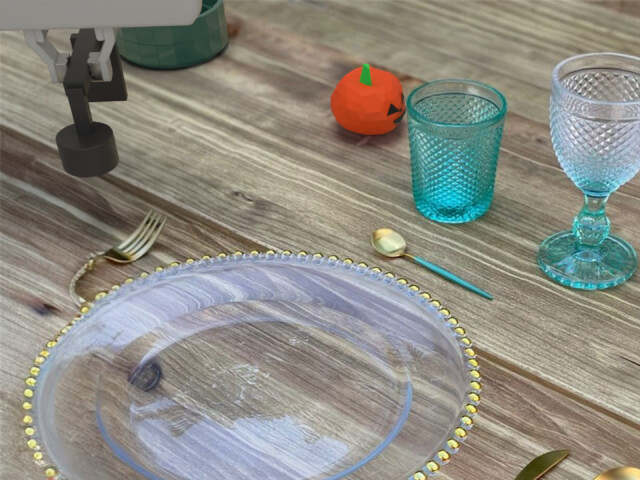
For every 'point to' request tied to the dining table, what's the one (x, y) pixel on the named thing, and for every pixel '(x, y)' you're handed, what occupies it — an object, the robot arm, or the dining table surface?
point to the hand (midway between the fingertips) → (83, 79)
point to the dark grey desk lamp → (85, 134)
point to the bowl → (177, 40)
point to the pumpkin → (368, 101)
